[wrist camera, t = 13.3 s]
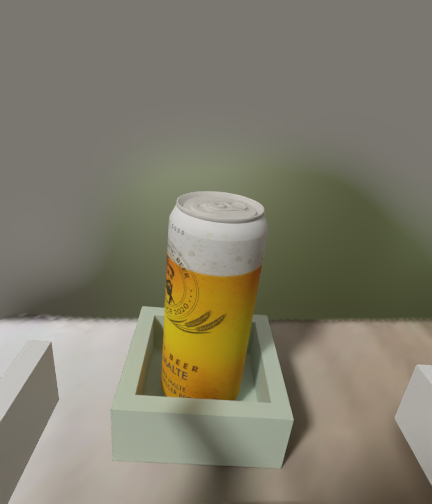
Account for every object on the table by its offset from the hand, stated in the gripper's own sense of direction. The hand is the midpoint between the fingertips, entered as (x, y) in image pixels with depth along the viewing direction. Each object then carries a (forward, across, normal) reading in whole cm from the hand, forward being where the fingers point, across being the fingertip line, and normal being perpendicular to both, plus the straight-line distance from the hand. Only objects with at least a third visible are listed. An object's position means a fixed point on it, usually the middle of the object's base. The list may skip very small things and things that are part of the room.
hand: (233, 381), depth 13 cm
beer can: (+11, -1, -12) cm, 16 cm away
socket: (+11, -1, -13) cm, 17 cm away
